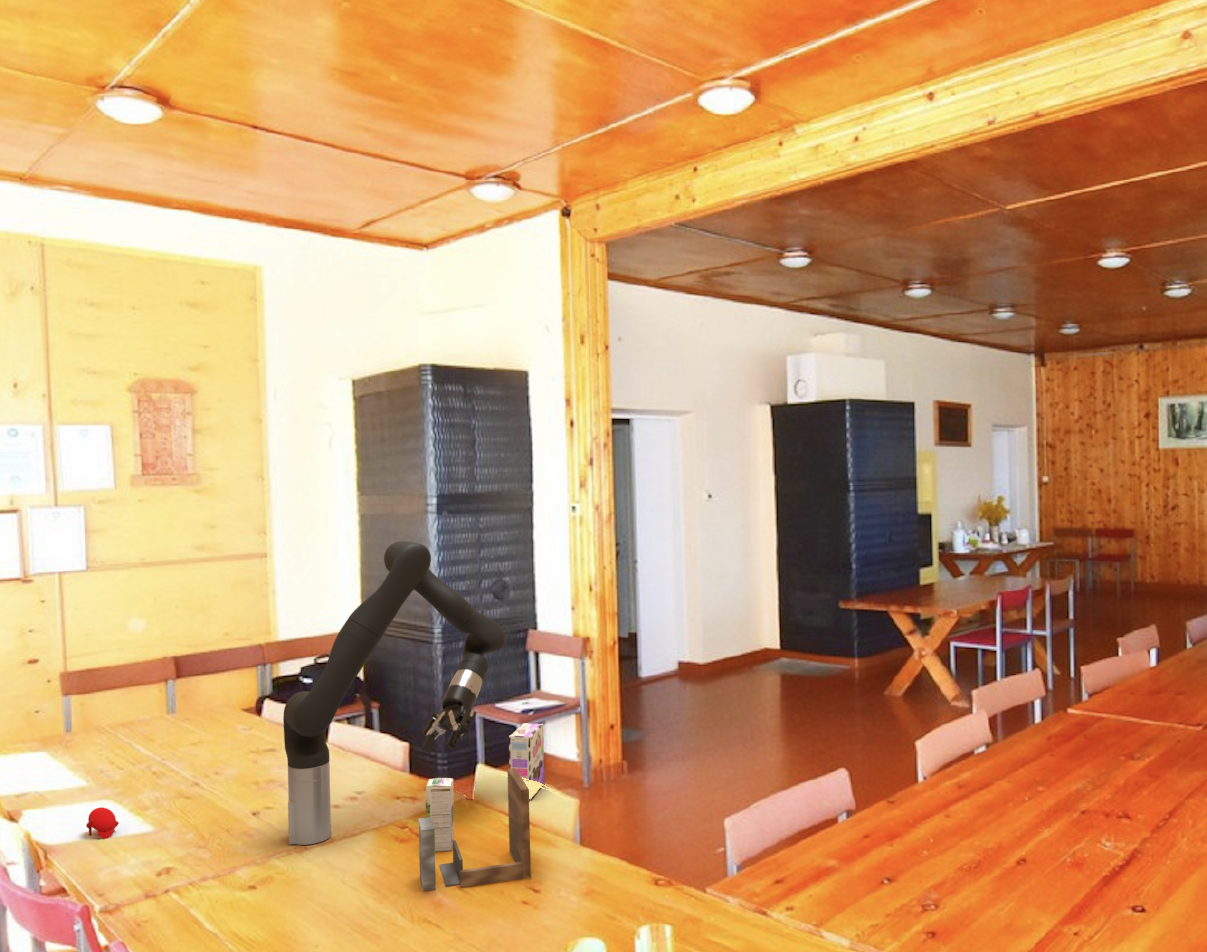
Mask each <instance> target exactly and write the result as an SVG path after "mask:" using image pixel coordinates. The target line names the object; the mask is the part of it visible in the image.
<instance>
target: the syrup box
mask: <svg viewBox="0 0 1207 952" xmlns="http://www.w3.org/2000/svg"><path fill="white" fill-rule="evenodd" d="M454 799H455V798H454V778H451V777H449V778H448V777H436V778H429V779H428V782H427V783H426V787H425V818H428V817H431V820H432V823H433V826H434V833H435V853H436V852H437V853H438V852H447V851H450V852H451V851H453V840H455V820H454V819H455V818H454V817H455V816H454V815H455V810H454V809H455V802H454V801H455V800H454Z"/></svg>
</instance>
